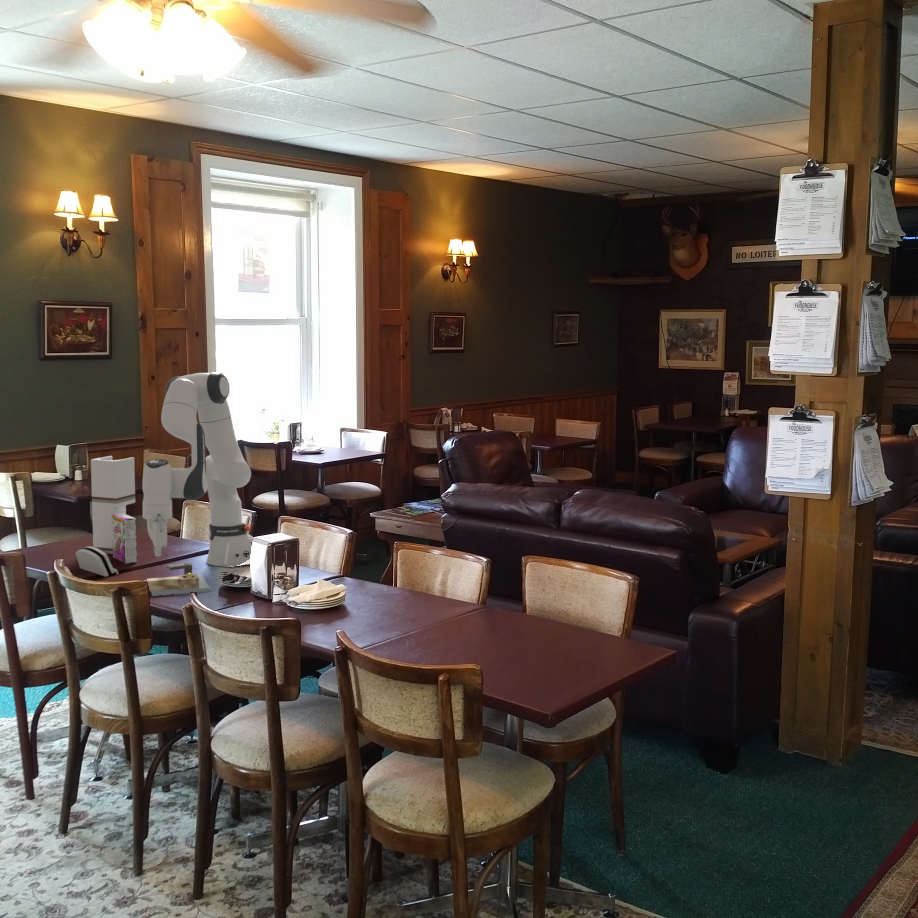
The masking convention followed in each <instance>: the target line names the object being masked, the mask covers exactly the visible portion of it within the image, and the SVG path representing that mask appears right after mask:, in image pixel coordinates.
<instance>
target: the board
mask: <svg viewBox="0 0 918 918" xmlns="http://www.w3.org/2000/svg"><path fill="white" fill-rule="evenodd" d="M197 576H198V577H199V588H191V589H180V588H178V589H166V590H154V591H149V592H150V595H151V597H160V596H159V595H162V596H171V594H174V595H184V594H185V595H186V594H191V593H190V592H197V594H198V593H207V592H208V593H209V592H211V587H210V585H209V584H208V582H207V580H206V579H205V577H204V575H202V574H197ZM147 579H148V578H146V579H145V580H147Z"/></svg>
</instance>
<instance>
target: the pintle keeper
mask: <svg viewBox="0 0 918 918" xmlns="http://www.w3.org/2000/svg"><path fill="white" fill-rule="evenodd" d="M166 569H167V570H168V571H176V570H182V569H183V575H186V578H192V574H193V564H192V562H183V563H182V562H181V563H173V564H172V563H171V564H167V565H166Z"/></svg>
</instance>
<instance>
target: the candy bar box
mask: <svg viewBox="0 0 918 918" xmlns="http://www.w3.org/2000/svg"><path fill="white" fill-rule="evenodd" d="M137 538H138V537H137V518H136V517H134V516H131V515H129V514H127V513H126V514H124V513H121V514H113V515H112V540H113V554H112V559H114V560H116V561H118V562H121V563H122V564H124V565H129V564H134V563H138V543H137Z"/></svg>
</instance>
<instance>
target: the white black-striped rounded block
mask: <svg viewBox="0 0 918 918" xmlns="http://www.w3.org/2000/svg"><path fill="white" fill-rule="evenodd" d="M75 555H76V559H77V562H78V565H79V569H81V570H84V571H87V572H90V573H93V574H97V575H100V576H103V577H108V576H110V574H116V575H119V571H118V569H117V568H114V566H113V565H112V563H111V561H110V558H109V556H108V554H107V553H104V552H103V551H101V550H99V549H98V548H95V547H93V546H90V545H89V546H84V547H82V548H81V549H77V551H76V552H75Z"/></svg>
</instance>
